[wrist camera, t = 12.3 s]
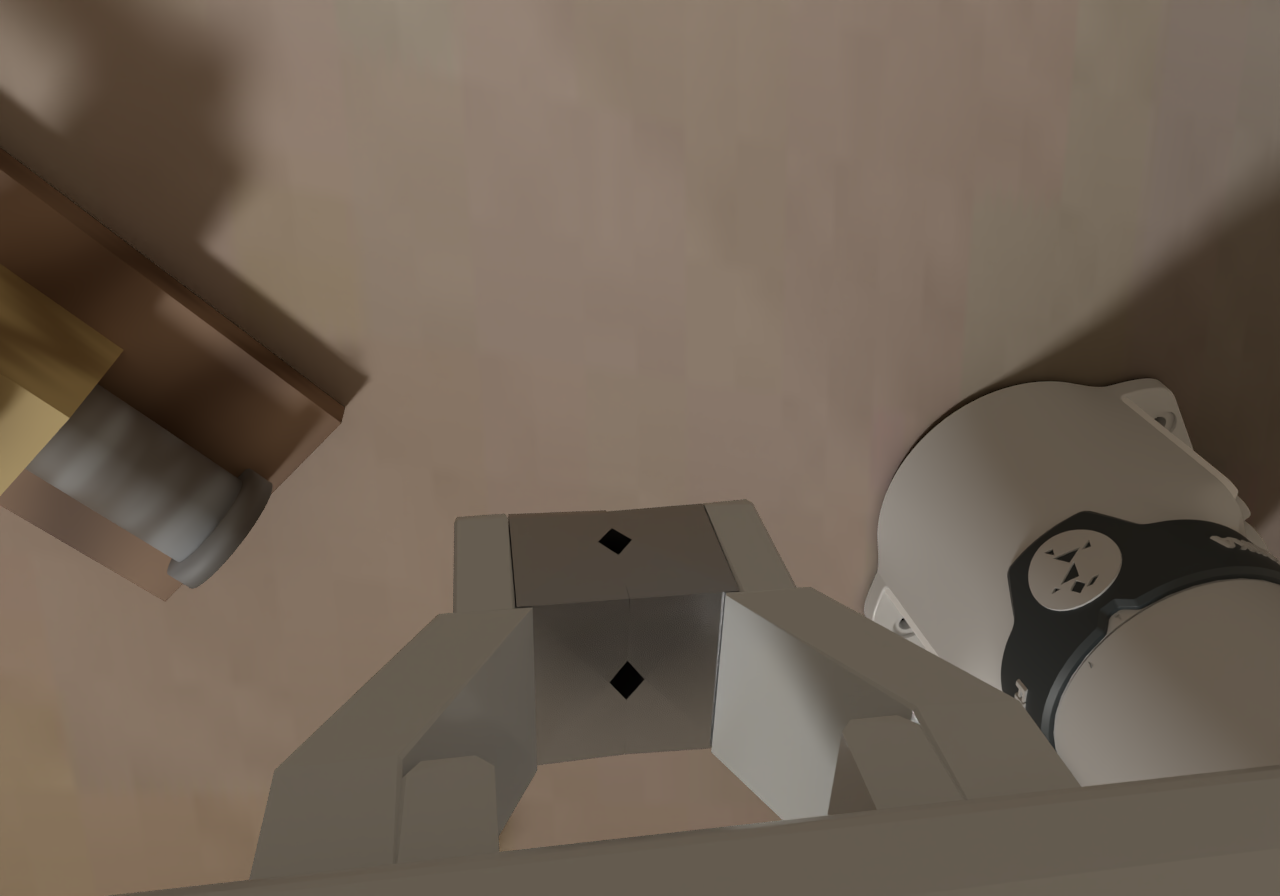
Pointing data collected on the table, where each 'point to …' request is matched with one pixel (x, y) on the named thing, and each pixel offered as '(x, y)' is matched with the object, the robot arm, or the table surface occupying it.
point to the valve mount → (133, 400)
